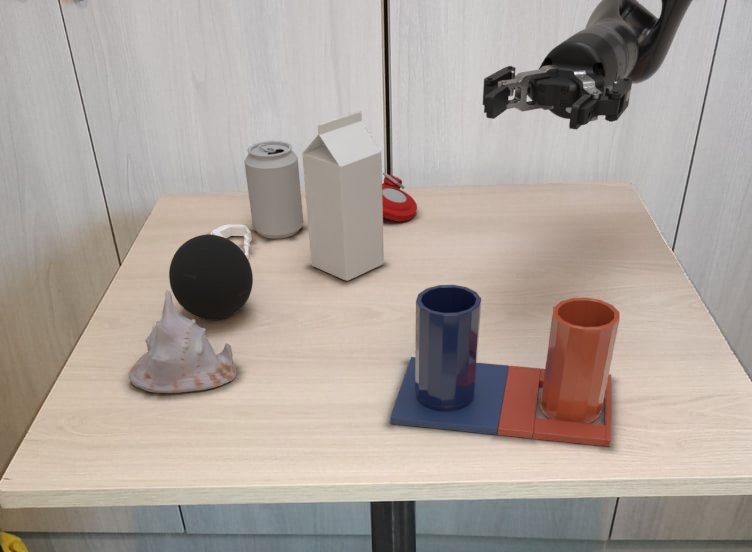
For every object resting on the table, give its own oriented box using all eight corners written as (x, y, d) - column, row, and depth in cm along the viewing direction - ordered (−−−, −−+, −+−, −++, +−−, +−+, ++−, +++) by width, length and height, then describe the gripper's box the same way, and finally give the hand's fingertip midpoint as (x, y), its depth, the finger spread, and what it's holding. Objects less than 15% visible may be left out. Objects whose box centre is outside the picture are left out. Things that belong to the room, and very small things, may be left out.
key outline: (268, 263, 112) (266, 251, 111) (233, 270, 111) (231, 258, 110) (241, 228, 121) (240, 217, 120) (209, 235, 120) (207, 223, 119)
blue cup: (477, 381, 87) (484, 286, 80) (470, 414, 83) (476, 317, 75) (421, 375, 89) (422, 282, 81) (410, 408, 84) (411, 312, 77)
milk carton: (384, 264, 111) (381, 116, 98) (346, 282, 107) (338, 131, 95) (348, 250, 115) (341, 105, 102) (311, 266, 111) (298, 119, 98)
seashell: (146, 347, 96) (128, 274, 90) (245, 347, 96) (234, 273, 89) (122, 395, 89) (100, 318, 83) (229, 396, 88) (216, 319, 82)
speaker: (181, 340, 97) (165, 262, 91) (174, 303, 105) (158, 227, 98) (263, 327, 99) (253, 249, 92) (250, 291, 106) (240, 216, 100)
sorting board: (609, 380, 88) (611, 374, 88) (609, 446, 79) (611, 440, 79) (411, 362, 92) (411, 356, 92) (390, 424, 83) (390, 417, 83)
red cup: (601, 394, 86) (619, 299, 79) (600, 429, 82) (619, 332, 74) (542, 388, 87) (554, 294, 80) (538, 422, 83) (551, 326, 75)
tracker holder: (429, 211, 121) (368, 206, 117) (419, 237, 124) (359, 233, 120) (404, 166, 127) (345, 160, 124) (395, 192, 131) (338, 186, 127)
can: (284, 244, 117) (275, 159, 109) (243, 234, 120) (231, 150, 112) (313, 225, 121) (307, 142, 113) (273, 216, 124) (264, 134, 116)
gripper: (526, 27, 89) (465, 62, 78) (657, 37, 83) (610, 77, 73) (519, 101, 94) (461, 143, 83) (643, 115, 88) (597, 163, 78)
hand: (531, 112), depth 78 cm, fingers open, 8 cm apart
